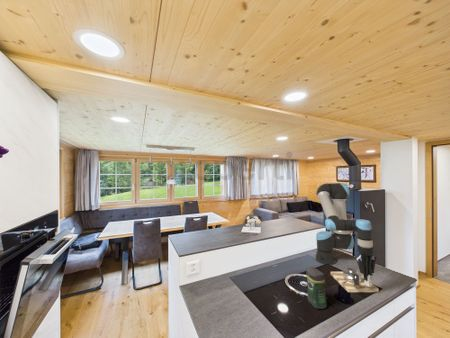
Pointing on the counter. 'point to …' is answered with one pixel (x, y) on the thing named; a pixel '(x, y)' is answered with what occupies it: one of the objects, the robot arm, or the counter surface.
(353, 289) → the stand
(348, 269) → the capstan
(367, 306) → the counter surface
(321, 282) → the coffee jar
